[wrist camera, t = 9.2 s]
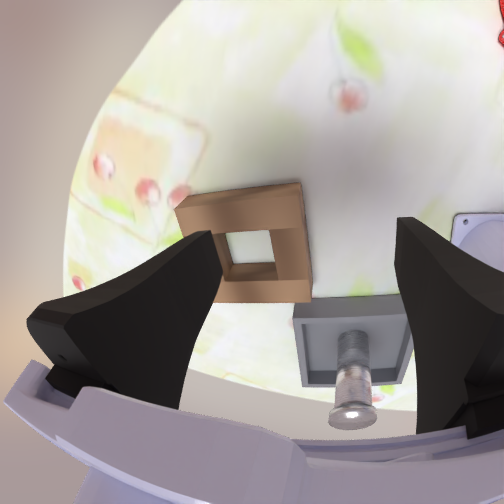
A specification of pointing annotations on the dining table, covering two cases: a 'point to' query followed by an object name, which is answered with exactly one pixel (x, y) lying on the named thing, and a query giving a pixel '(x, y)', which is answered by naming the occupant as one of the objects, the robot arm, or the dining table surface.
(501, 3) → the tow hook
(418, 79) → the dining table surface
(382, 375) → the tray
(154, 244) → the dining table surface
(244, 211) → the holder block
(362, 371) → the steel pin
